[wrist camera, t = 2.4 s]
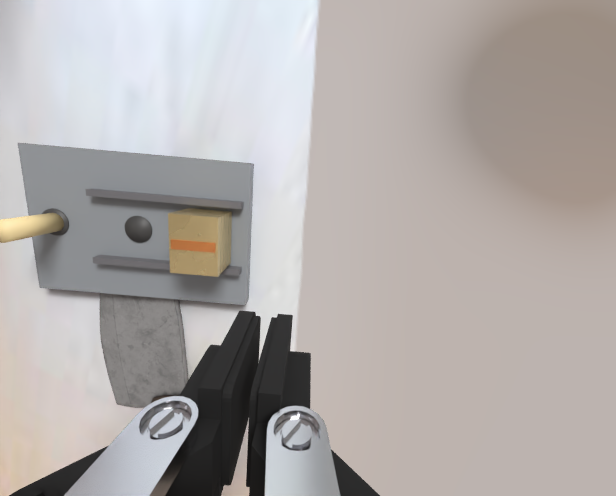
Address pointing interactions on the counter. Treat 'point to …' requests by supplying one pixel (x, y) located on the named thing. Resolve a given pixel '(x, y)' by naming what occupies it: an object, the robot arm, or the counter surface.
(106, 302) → the cleaver
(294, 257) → the counter surface
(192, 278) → the bolt plate
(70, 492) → the robot arm
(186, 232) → the cardboard box
